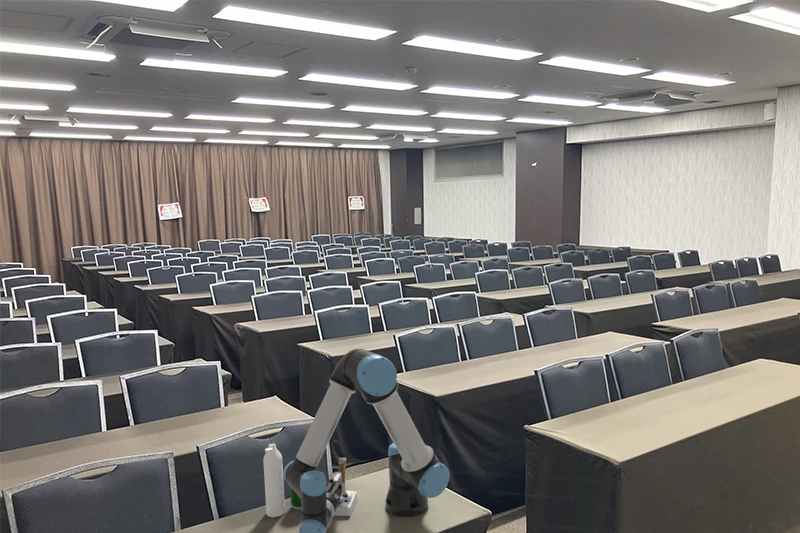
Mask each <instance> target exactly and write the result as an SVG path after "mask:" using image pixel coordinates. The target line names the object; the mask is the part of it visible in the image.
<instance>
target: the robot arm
mask: <svg viewBox="0 0 800 533" xmlns="http://www.w3.org/2000/svg"><path fill="white" fill-rule="evenodd" d="M397 372H398V371H397V369H396V367H395V365H394V364H393V362H392V361H391V360H390V359H388V358H387V357H385V356H384V355H381V354H377V353H375V352H372V351H369V350H367V349H364V348H354V349H351V350H349V351H348V352H346V353H345V354H344V355H343V356H342V357H341V359H340V360H339V361H338V363H337V364H336V366H335V368H334V369H333V371H332V373H331V375H330V378H329V384H330V385H329V387H328V388H327V391H326V393H325V395H324V397H323V399H322V402H321V404H320V405H319V408H318V410H317V412H316V414H315V416H314V417H313V418H314V419H313V421H312V422H311V425H310V426H309V429H308V431H307V433H306V434H305V437H304V439H303V441H302V444H301V445H300V447H299V450H298V452H297V454H296V456H295V458H294V460H291V461H290V462H288V463H287V464H286V465H285V467H284V468H283V480H284V481H285V482H286V484H287V485H288V487H289V488H290V487H291V488H292V489H293V490H294V491H295V493H296V494H297V495H298V496H299V497H300V498H301V504H302V511H301V518H302V519H301V520H302V521H301V524H300V526H299V530H298V533H327V531H328V529H329V527H330V524H331V522H332V520H333V518H334V516H333V515H334V513H335V511H336V509H337V506H338V504H340V502H341V501H344V502H348V494H347V493H346V491H347V490H346V481H345V482H342V474H341V472H339V471H338V472H336V475H335V476H334V477H333V478H330V479H329V482H328V481H326V480H327V479H326V475H325V473H324V472H323V471H320V470H316V469H317V467H318V465H319V463H320V461H321V459H322V457H323V455H324V453H325V450H326V448H327V446H328V444H329V443H330V440H331V438H332V436H333V434H334V432H335V429H336V427H337V426H338V423H339V421H340V419H341V417H342V415H343V412H344V410H345V409H346V406H347V403H349V400H350V397H352V394H355V393H356V392H357V389H358V391H359V392H360V394H361V396H362V397H363V399H364V401H365V402H366V404H369V405H372V406H373V407H374V409H375V411H376V413H377V415H378V416H379V419H380V420H381V423H382V425H383V426H384V427H385V429H386V431H387V433H388V435H389V437H390V439H391V441H392V443H391V444H390V445H389V446H388V450H387V451H388V452H387V456H388V472H389V473H388V476H389V477H388V478H389V479H388V480H389V485H388V490H387V494H386V497H385V508H386V511H388V512H389V513H390V514H392V515H394V516H399V517H412V516H417V515H420V514H422V513H424V512H425V511H427V509H428V507H429V501H428V500H429V499H433V498H437V497H439V496H440V495H441V494H442V493H443V492H444V491H446V489H447V487H448V485H449V484H448V483H449V481H450V471H449V469H448V467H447V466H446V465H445V464H444V463H442V462H440V460H439V459H438V457H437V454H435V452H434V449H433V448H432V447H431V446H429V445H427V444H426V443H425V442H424V440H423V439H422V437H421V435H420V432H419V430H418V429H417V427H416V425H415V424H414V421H413V420H412V417H411V415H410V414H409V412H408V410H407V408H406V406H405V404H404V403H403V401H402V399H401V397H400V395H399V392H398V391H397V390H398V389H399V388H398V387H399V383H398V381H397V379H398V373H397ZM341 489H342V495H341V497H339V496H338V493H339V491H341Z"/></svg>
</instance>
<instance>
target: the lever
mask: <svg viewBox="0 0 800 533" xmlns="http://www.w3.org/2000/svg"><path fill="white" fill-rule="evenodd" d="M346 465H347V458H346V457H338V472H341V474H342V482H345V483H346V467H347V466H346ZM341 495H342V489H341V491H339V493H338V496H339V497H341Z"/></svg>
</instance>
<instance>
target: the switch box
mask: <svg viewBox="0 0 800 533" xmlns="http://www.w3.org/2000/svg"><path fill="white" fill-rule="evenodd" d="M346 493H347V494H348V502H344V501H341V502H340V504H338V506H337V509H336V511H335V513H334V515H333V517H334V516H335V517H336V516H338V517H339V516H340V517H351V515H352V513H353V510H354V508H355V506H356V503H357V500H358V491H356V490H346Z"/></svg>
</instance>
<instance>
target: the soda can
mask: <svg viewBox="0 0 800 533" xmlns="http://www.w3.org/2000/svg"><path fill="white" fill-rule="evenodd" d="M289 488H290V505H291V507H292V508H293V509H294V510H295V511H299V512H300V511H301V512H302V504H301V498H300V497H299V496H298V495H297V494H296V493H295V491H294V490H293V489H292V488H291V487H290V486H289Z"/></svg>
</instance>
